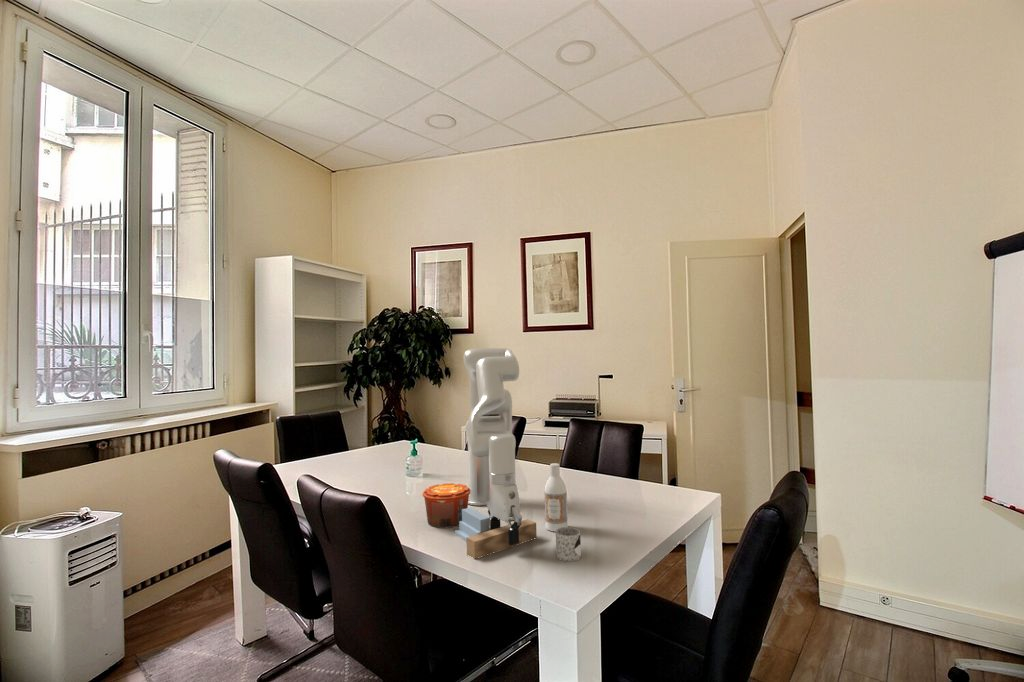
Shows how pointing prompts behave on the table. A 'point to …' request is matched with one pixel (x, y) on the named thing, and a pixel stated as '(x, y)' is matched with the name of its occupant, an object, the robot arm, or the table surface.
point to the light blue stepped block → (472, 523)
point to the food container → (446, 504)
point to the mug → (568, 544)
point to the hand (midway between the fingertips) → (504, 538)
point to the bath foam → (555, 500)
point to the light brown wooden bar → (498, 539)
